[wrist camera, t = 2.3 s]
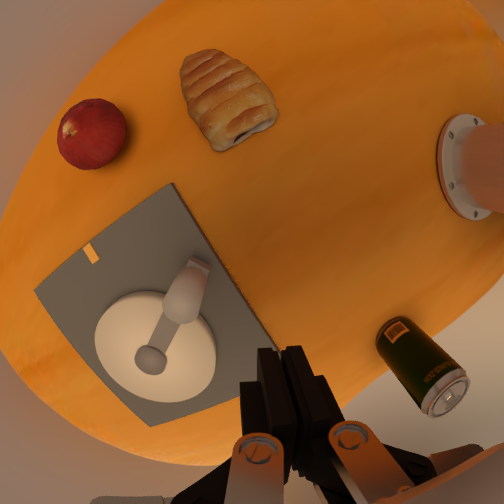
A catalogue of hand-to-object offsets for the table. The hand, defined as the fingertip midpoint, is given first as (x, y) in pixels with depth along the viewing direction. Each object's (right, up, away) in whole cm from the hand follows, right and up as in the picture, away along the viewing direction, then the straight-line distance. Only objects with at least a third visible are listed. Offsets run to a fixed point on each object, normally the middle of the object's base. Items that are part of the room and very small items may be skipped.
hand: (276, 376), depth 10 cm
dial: (-9, -3, +15) cm, 18 cm away
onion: (-14, +15, +12) cm, 24 cm away
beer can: (+16, -5, +19) cm, 25 cm away
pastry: (-3, +18, +12) cm, 22 cm away
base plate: (-11, -3, +16) cm, 20 cm away
